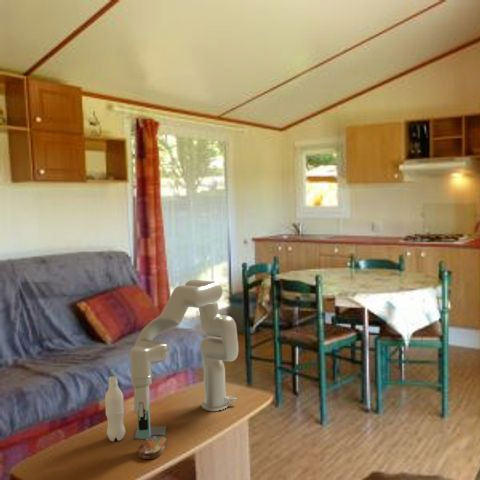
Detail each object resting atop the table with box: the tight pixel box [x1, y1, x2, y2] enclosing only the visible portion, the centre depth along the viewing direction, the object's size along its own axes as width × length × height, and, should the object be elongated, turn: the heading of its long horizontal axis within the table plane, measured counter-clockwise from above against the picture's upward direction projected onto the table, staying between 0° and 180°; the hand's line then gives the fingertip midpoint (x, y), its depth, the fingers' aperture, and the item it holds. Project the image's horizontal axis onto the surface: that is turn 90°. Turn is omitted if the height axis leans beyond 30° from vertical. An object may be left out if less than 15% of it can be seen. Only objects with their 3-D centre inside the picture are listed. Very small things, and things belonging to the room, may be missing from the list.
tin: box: [138, 434, 168, 460], centre depth 200 cm, size 15×3×8 cm
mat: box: [134, 425, 167, 440], centre depth 214 cm, size 12×9×1 cm
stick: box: [137, 407, 151, 440], centre depth 199 cm, size 4×4×14 cm
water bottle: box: [104, 375, 126, 442], centre depth 209 cm, size 7×7×25 cm
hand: (144, 426), depth 199 cm, fingers closed on stick, 4 cm apart
